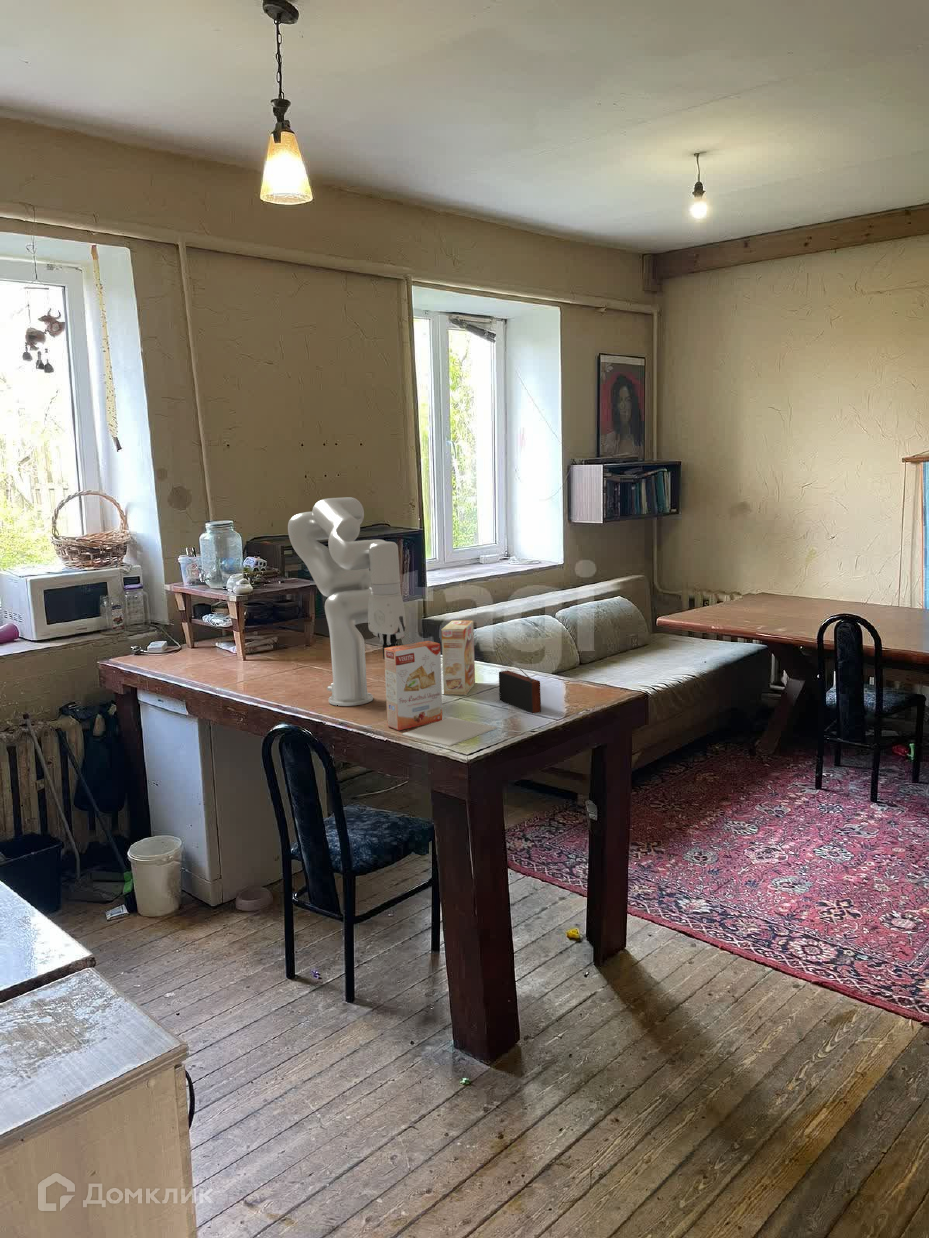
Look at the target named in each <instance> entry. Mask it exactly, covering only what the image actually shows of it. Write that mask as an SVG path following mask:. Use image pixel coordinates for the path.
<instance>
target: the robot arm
mask: <svg viewBox="0 0 929 1238" xmlns="http://www.w3.org/2000/svg"><path fill="white" fill-rule="evenodd" d="M364 511H365V510H364V507H363V505H362V503H361V502H360V500H358V499H357V498H355V497H351V496H349V497H347V496H345V497H330V498H329V497H328V498H323V499H320V500H318V501H317V502H316V503H315V504H314V506H313V507H312V511H305V512H300V513H297V514H294V515H293V516H292V517H291V518H290V519H289V520H288V523H287V533H288V538H289V541H290V544H291V546H292V548H293V550H294V551H295V553H296V554H297V555H298V557H299V558H300V559H301V561H303V563H304V564H305V566H306V567H307V569H308V571H309V574H310V575H311V577H312V579H313V581H314V583H315V585H316V587H317V589H318V590H319V592H320V593H321V594H322V596H324V597H326V598H327V599H326V600H325V603H324V612H325V613H324V614H325V617H326V621H327V622H326V623H327V626H328V631H329V641H330V652H331V654H330V657H331V671H332V683H330V685H328V686H327V687H326V690H327V691H329V692H331V696H329V697H328V703H329V704H330V705H333V706H337V705H338V707H339V706H341V707H354V706H359V705H364V704H368V703H371V702H372V701H373V700H374V695H373V694H372V693H370V692H368V686H367V685H368V684H367V667H366V649H365V647H366V646H365V639H364V637H363V635H362V633H361V632H360V631H359V629H358V628H357V627H356V625H359V624H363V623H368V624H367V625H368V626H367V627H368V630H369V632H371V633H372V634H373V636H375V637H377V638H378V639H379V641H380V644H381V645H382V658H383V660H384V661H385V656H384V648H388V647H394V646H397V645H396V644H398V641H399V639H403V638H405V633H404V632H405V631H406V629H407V628H406V627H407V620H406V619H407V618H406V611H405V603H404V600H403V596H402V594H401V593H402V592H401V578H400V577H401V576H400V560H399V558H400V557H399V546H398V544H397V543H396V542H394V541H386V540H384V539H379V538H378V539H377V538H376V539H366V540H365V539H364V540H357V538H358V537H359V535H360V532H361V524H362V523H363V521H364V517H365V512H364ZM322 540H323V541H324V540H328V547H327V546H326V545H324V544H323V543H320V542H319V541H322Z"/></svg>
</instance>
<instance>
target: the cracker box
mask: <svg viewBox="0 0 929 1238" xmlns="http://www.w3.org/2000/svg"><path fill="white" fill-rule="evenodd" d="M441 654H442V650H441V643H438V642H435V641H431V640H425V641H419V642H418V641H417V642H414V643H407V644H401V645H396V646H394V647H388V648H384V656H385V660H384V674H385V675H384V677H385V679H384V680H385V700H386V701H385V702H386V703H385V704H386V705H385V706H386V723H387V726H386V727H389V728H391V729H394V730H397V731H403V730H407V729H412V728H416V727H422V726H426V725H429V724H432V723H435V722H438V721H441V720H443V698H442V697H443V692H442V658H441V657H442V655H441Z"/></svg>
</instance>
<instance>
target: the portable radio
mask: <svg viewBox="0 0 929 1238" xmlns="http://www.w3.org/2000/svg"><path fill="white" fill-rule="evenodd" d="M496 650H497V651H499V652H500V653H501V654H502V655H504V656H505V657H506V658H507V659H508V661H510V662H511V663H512V664H513V665H514V666H515V667H516V668H517V669H518V670H520V672H521V673H523V674H524V675H522V674H519V673H517V672H514V671H512V670H511V671H510V670H502V671H499V672H498V687H499V688H498V690H499V693H498V694H499V701H500V702H502V703H504V704H506V705H509V706H512V707H515V708H517V709H520V710H522V711H524V712H528V713H530V714H537V713H541V712H542V706H541V705H542V703H541V702H542V701H541V700H542V699H541V697H542V696H541V695H542V694H541V681H540V680H538V679H535V678H531V677H530V676H529V675H528V674H527V673H526V672H525V671H523V670H522V669H521V668H520V667H519V666H518V665H517V664H515V662H513V661H512V660H511V659H510V658H509V657H507V656H506V654H505V653H504V652H502V651H501V650H500V649H499V647H496Z"/></svg>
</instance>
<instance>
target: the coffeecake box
mask: <svg viewBox="0 0 929 1238" xmlns="http://www.w3.org/2000/svg"><path fill="white" fill-rule="evenodd" d="M440 631H441V654H442V655H441V657H442V658H441V659H442V678H443V681H442V683H443V695H444V696H445V695H448V696H449V695H451V696H467V695H468V693H469V692H470V691H471V689H472V688H474V685H475V684H476V672H475V671H476V669H475V668H476V667H475V666H476V665H475V664H476V663H475V641H474V640H475V638H474V637H475V635H474V620H467V619H466V620H465V619H464V620H451V621H449V622H448V623H447V624H446V625H445V626H444V627H443V628H441V630H440Z"/></svg>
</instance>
